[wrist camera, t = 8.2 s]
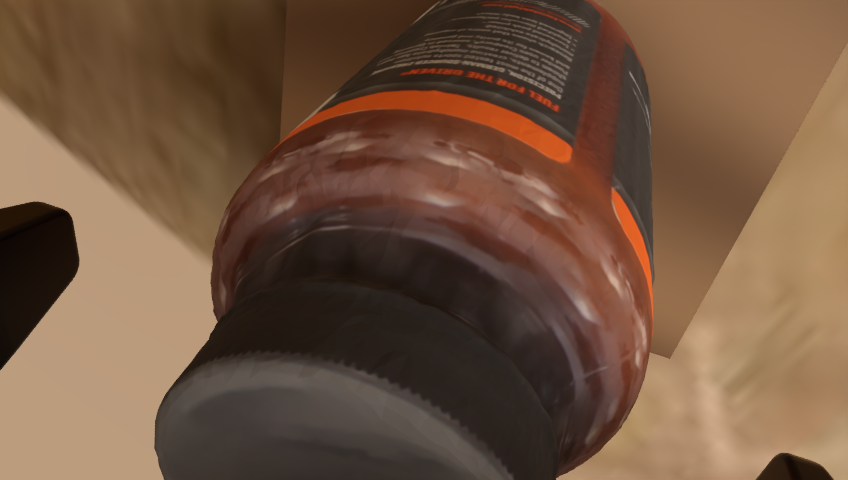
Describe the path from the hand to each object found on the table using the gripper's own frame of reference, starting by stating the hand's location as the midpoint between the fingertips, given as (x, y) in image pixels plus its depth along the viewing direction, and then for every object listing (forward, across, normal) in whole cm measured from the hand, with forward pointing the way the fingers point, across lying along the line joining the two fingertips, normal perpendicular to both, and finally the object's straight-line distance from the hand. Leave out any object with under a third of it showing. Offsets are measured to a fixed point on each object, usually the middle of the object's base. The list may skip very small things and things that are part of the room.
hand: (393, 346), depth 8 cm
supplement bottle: (+9, 0, 0) cm, 9 cm away
